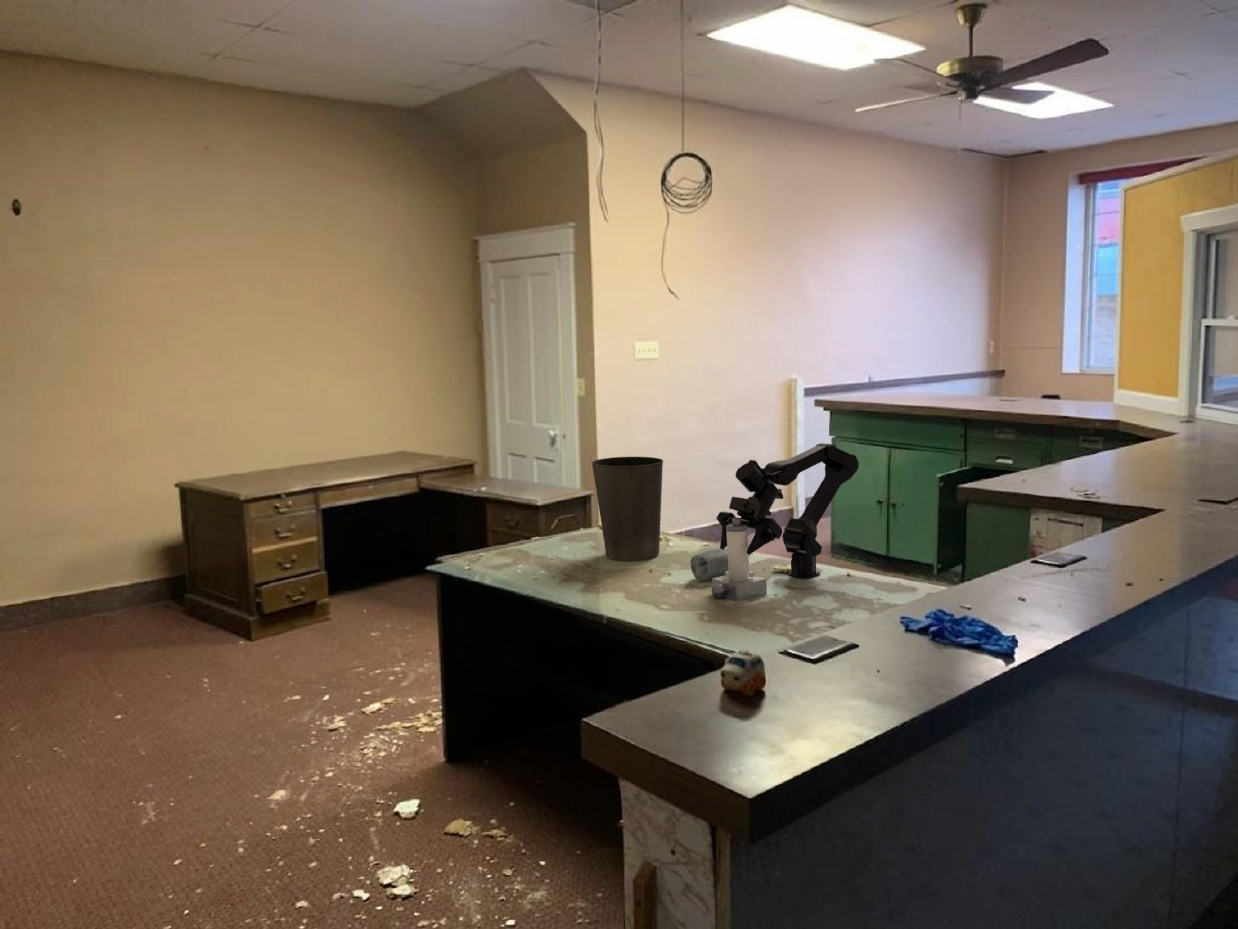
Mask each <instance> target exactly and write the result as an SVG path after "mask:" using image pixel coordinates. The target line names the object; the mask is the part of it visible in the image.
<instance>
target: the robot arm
mask: <svg viewBox="0 0 1238 929" xmlns="http://www.w3.org/2000/svg"><path fill="white" fill-rule="evenodd" d="M820 463H823V464H824V478H823V479H822V480H821V483H820V484H819V486H818V487H817V489H816V491H815V493H813V496H812V497H811V499H810V500H809V502H808V504H807V505H806V507H805V509H804V511H803V512H802V514H801V516H800V517H798V518H794V517H791V518H790V519H789V520H788V522H787V525H786V526H785V527H784V528H782V527H781V525H779V523H778V522H777V521H776V520H775V519H774V518H771V515H772V512H771V511H770V510H771V508H772V506H773V505H774V502H775V501H776V499H777V500H783V499H784V494H783V491H782V488H778V487H777V485H779V486H785V487H787V486H789V485H791V483H793V482H794V481H795V480H797V478H798V476H799V475H800V474H801V473H802V472H804V471H806V470H809V469H810V468H812V467H814V466H816V465H818V464H820ZM859 464H860V462H859V460H858V458H857V456H856V454H853V453H849V452H847V451H844V450H842V449H840V448H838V447H837V446H835V445H833V444H831V443H823V442H820V443H817V444H816V445H815V446H813V447H811V448H809V449H807V450H804V451H803V452H800V453H798V454H796V455H795V456H793V457H790V458H788V459H785V460H775V461H773V462H768V463H767V464H766V465H765V466H764V467H763V468H762V467H761V466H760V465H759V463H758V461H757V460H755V459H749V461H748V462H747V463H743V464H742V465H741V466H740V467H739V468H737V469H736V472H735V478H736V479H737V480H738V481H739V483H740V484H742V486H743V487H744V488H745V489H746V491H748V492H749V493H753V494H752V496H749V497H748V498H745V497H738V496H731V499H730V502H729V506H728V509H729V510H734V511H736V514H737V516H738V517H739V518H741V524H746V525H747V526H748V529H753V530H755V532H754V533H755V534H754V535H753V537H752V540H750V541H751V542H750V543H749V544H748V550H747V554H748V555H749V556H750V555H751V554H753V553H754V552H756V551H757V550H759V549H760V548H762V547H763V546H765V545H767V544H768V543H770V542H774V541H776V540H780V539H781V536H782V542H783V545H784V547H785V550H786V552H787V553H791V559H790V572H788V573H787V574H788V576H793V577H795V578H800V579H808V578H812V577H817V576H820V575H821V572H819V571H817V557H818V555H821V553H822V550H823V547H822V545H821V544H820V543H819V541H817V536H818V527H817V526H818V524H819V522H820V521H821V519H822V517H823V515H824V514H825V512H826V510H827V509H828V508H829V506H830V504H831V502H832V501H833V499H834V497H835V496H836V494H837V492H838V491H839V489H840V487H841V486H842V485H843V484H845V483H846V482H848V481H849V480H851V479H852V477H853V476H854V475H856V473H857V472H858V469H859V466H860V465H859ZM735 517H736V515H735V514H734V513H733V512H729V511H719V513H718V515H717V516H716V518H715V519H716V520H717V522H718V524H719V525H720V526H721V537H720V538H721V540H720V543H719V544H720V545H719V548H721V550H723V549H726V548H727V530H726V526H727V525H730V524H732V518H735ZM783 530H784V531H783Z"/></svg>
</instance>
